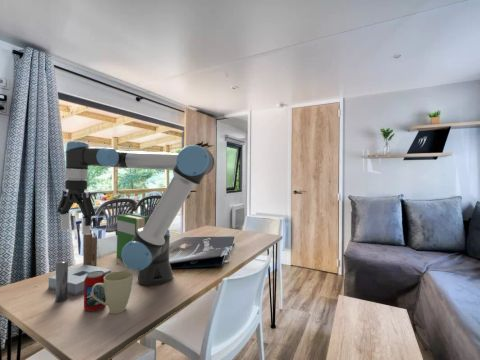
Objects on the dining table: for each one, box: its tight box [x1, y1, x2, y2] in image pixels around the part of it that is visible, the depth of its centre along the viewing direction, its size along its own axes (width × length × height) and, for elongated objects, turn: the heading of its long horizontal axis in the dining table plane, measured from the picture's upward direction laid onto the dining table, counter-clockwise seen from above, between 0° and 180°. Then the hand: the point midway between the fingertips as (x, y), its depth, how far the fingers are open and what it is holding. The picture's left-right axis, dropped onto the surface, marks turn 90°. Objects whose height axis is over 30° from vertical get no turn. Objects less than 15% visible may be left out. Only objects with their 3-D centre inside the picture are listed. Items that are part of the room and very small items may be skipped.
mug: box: [92, 270, 133, 314], centre depth 84 cm, size 11×10×12 cm
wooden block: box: [82, 232, 98, 267], centre depth 121 cm, size 4×11×18 cm, turn 17°
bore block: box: [48, 264, 112, 297], centre depth 104 cm, size 16×16×4 cm
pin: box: [54, 260, 69, 303], centre depth 90 cm, size 4×4×14 cm
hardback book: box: [116, 213, 148, 259], centre depth 137 cm, size 18×7×24 cm, turn 55°
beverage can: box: [83, 271, 106, 312], centre depth 86 cm, size 7×7×12 cm
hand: (75, 231), depth 99 cm, fingers open, 13 cm apart
